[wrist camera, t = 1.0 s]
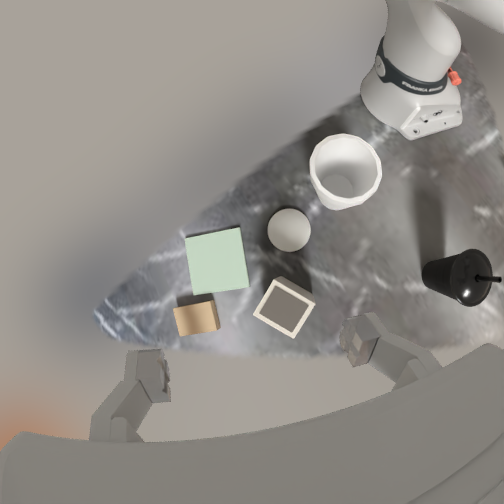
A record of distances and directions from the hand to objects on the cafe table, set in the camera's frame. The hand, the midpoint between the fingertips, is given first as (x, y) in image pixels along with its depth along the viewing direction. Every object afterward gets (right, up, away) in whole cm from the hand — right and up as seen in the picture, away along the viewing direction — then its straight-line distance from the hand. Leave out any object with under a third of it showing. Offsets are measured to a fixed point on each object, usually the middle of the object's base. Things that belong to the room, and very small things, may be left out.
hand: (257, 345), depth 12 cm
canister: (+6, -4, +35) cm, 36 cm away
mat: (-6, +2, +38) cm, 38 cm away
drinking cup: (+31, 0, +31) cm, 44 cm away
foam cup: (+14, +14, +35) cm, 40 cm away
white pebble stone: (+6, +8, +36) cm, 37 cm away
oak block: (-10, -7, +38) cm, 40 cm away
